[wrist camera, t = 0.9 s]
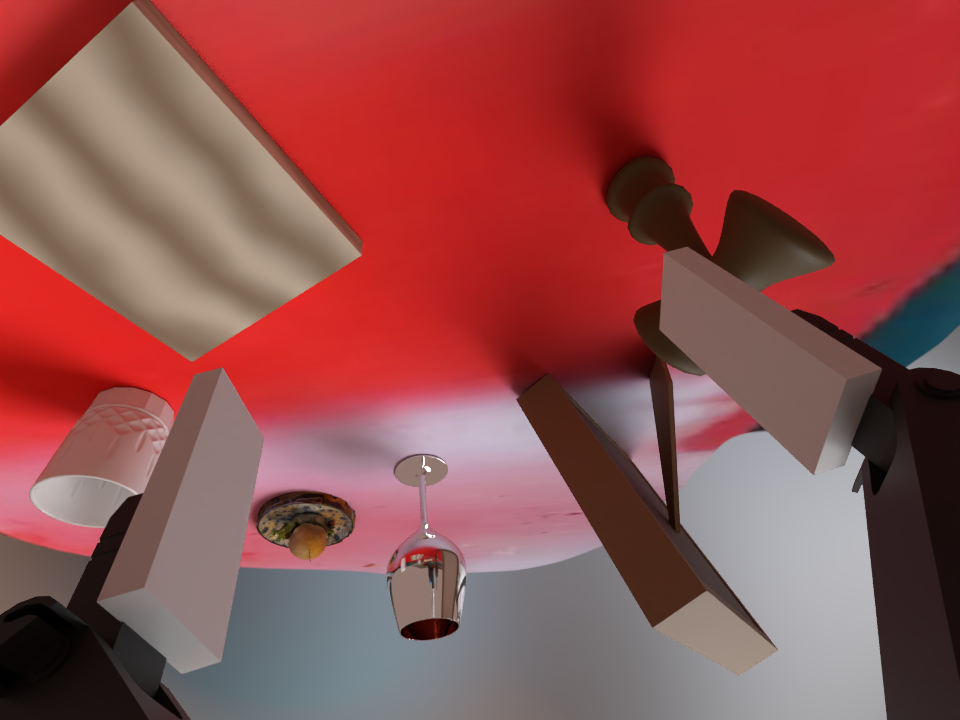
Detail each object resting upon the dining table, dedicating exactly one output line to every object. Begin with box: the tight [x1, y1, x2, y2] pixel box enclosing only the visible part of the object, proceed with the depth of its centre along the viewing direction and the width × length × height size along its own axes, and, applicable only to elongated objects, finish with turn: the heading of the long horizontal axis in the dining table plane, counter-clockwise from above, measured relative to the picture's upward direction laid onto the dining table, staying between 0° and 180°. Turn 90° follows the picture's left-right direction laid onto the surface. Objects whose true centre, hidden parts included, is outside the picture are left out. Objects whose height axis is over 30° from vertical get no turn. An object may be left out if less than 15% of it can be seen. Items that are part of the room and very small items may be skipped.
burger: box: [256, 492, 356, 560], centre depth 61 cm, size 12×12×8 cm
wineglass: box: [386, 455, 466, 641], centre depth 53 cm, size 8×8×18 cm
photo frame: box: [516, 355, 778, 676], centre depth 48 cm, size 15×22×25 cm
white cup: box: [29, 387, 174, 528], centre depth 44 cm, size 8×8×10 cm
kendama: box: [606, 156, 835, 376], centre depth 31 cm, size 6×10×20 cm, turn 153°
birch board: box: [0, 0, 363, 362], centre depth 34 cm, size 18×18×2 cm
